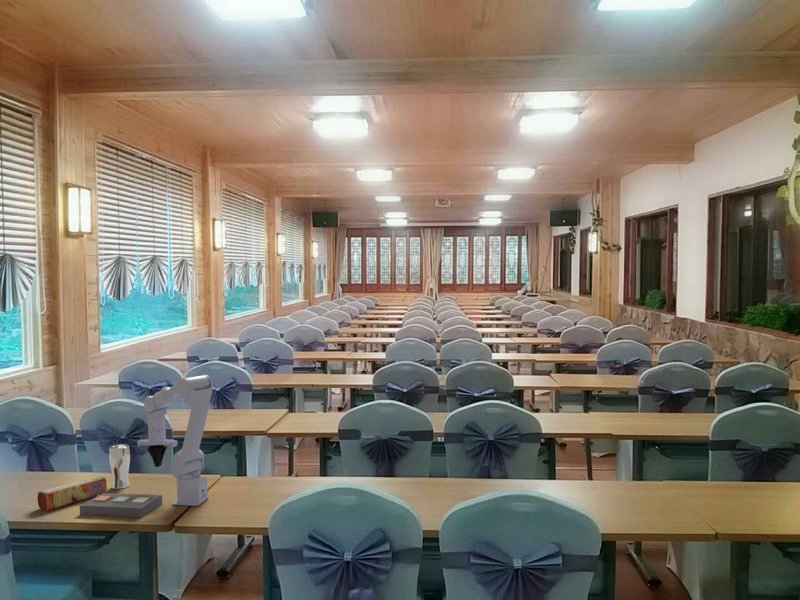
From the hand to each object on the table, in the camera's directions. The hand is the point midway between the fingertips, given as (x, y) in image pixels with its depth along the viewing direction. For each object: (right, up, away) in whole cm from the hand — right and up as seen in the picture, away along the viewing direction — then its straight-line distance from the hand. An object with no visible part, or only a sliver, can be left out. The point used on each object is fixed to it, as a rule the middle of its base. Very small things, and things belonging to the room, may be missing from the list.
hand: (158, 465), depth 215 cm
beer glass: (-17, -10, +7) cm, 21 cm away
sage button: (-6, -9, -16) cm, 19 cm away
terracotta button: (-12, -10, -15) cm, 22 cm away
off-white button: (+1, -9, -17) cm, 20 cm away
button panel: (-6, -10, -16) cm, 20 cm away
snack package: (-27, -11, -7) cm, 29 cm away
